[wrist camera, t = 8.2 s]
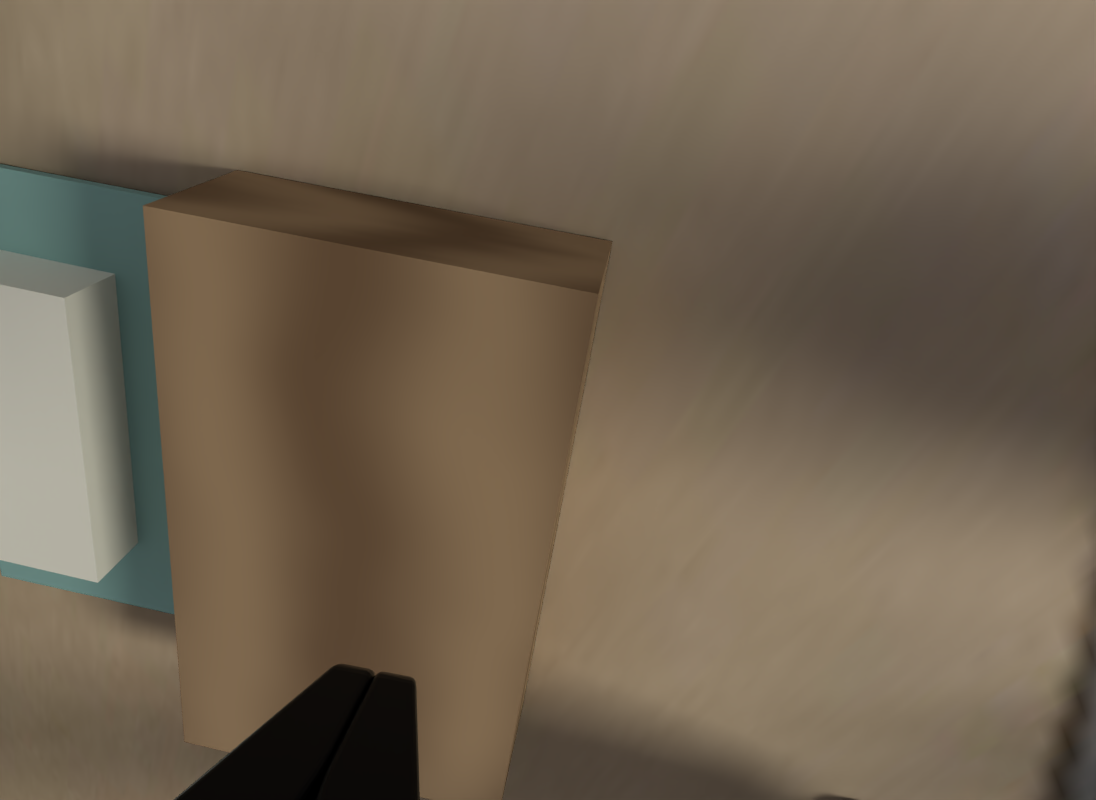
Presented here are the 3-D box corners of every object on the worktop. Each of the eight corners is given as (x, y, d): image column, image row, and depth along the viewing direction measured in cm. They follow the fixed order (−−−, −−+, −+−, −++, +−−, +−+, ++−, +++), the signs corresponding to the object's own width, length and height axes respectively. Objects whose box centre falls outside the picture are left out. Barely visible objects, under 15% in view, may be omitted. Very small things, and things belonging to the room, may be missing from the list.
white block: (-164, 249, 20) (-96, 229, 22) (-92, 538, 24) (-40, 502, 26) (64, 298, 20) (114, 273, 22) (97, 582, 24) (138, 542, 26)
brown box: (612, 241, 20) (598, 293, 16) (522, 707, 27) (498, 815, 23) (237, 170, 20) (142, 205, 17) (248, 646, 27) (184, 741, 24)
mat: (256, 213, 20) (251, 216, 20) (262, 626, 27) (258, 633, 27) (-74, 149, 21) (-84, 151, 21) (8, 570, 27) (1, 575, 27)
